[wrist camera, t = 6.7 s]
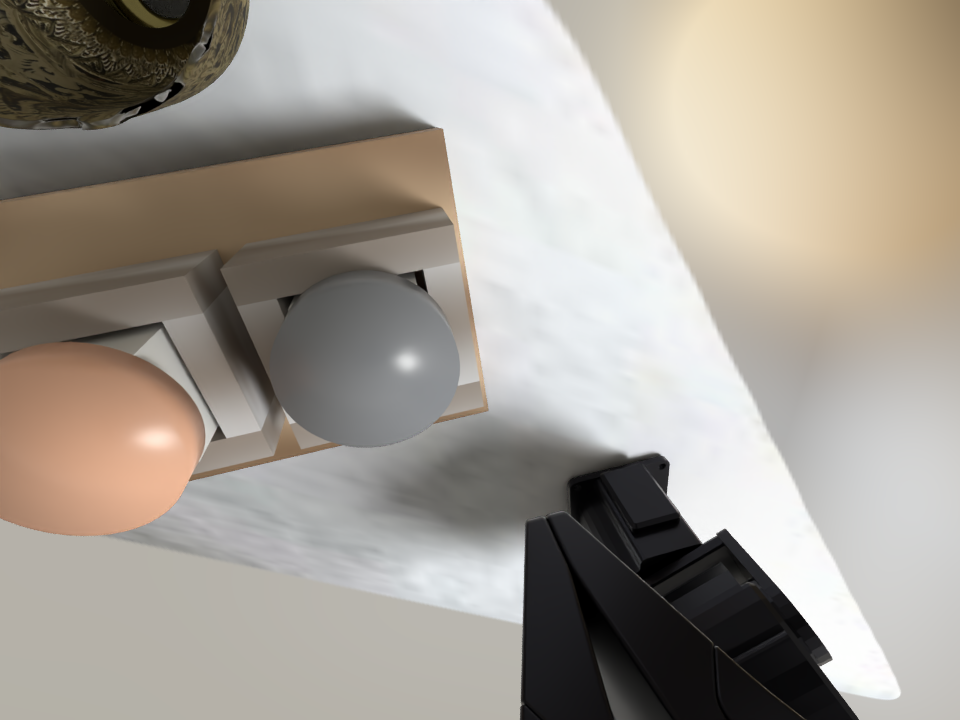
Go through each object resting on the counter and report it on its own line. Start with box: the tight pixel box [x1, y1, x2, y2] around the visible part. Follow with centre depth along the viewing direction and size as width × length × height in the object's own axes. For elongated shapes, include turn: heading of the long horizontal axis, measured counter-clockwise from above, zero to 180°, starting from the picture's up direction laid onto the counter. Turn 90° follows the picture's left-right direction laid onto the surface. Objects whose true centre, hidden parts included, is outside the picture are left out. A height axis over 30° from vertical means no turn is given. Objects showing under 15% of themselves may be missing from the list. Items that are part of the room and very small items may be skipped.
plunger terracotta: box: [0, 322, 219, 536], centre depth 14 cm, size 6×6×4 cm
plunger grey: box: [269, 270, 460, 447], centre depth 15 cm, size 6×6×4 cm
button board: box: [0, 128, 488, 481], centre depth 17 cm, size 12×16×5 cm
